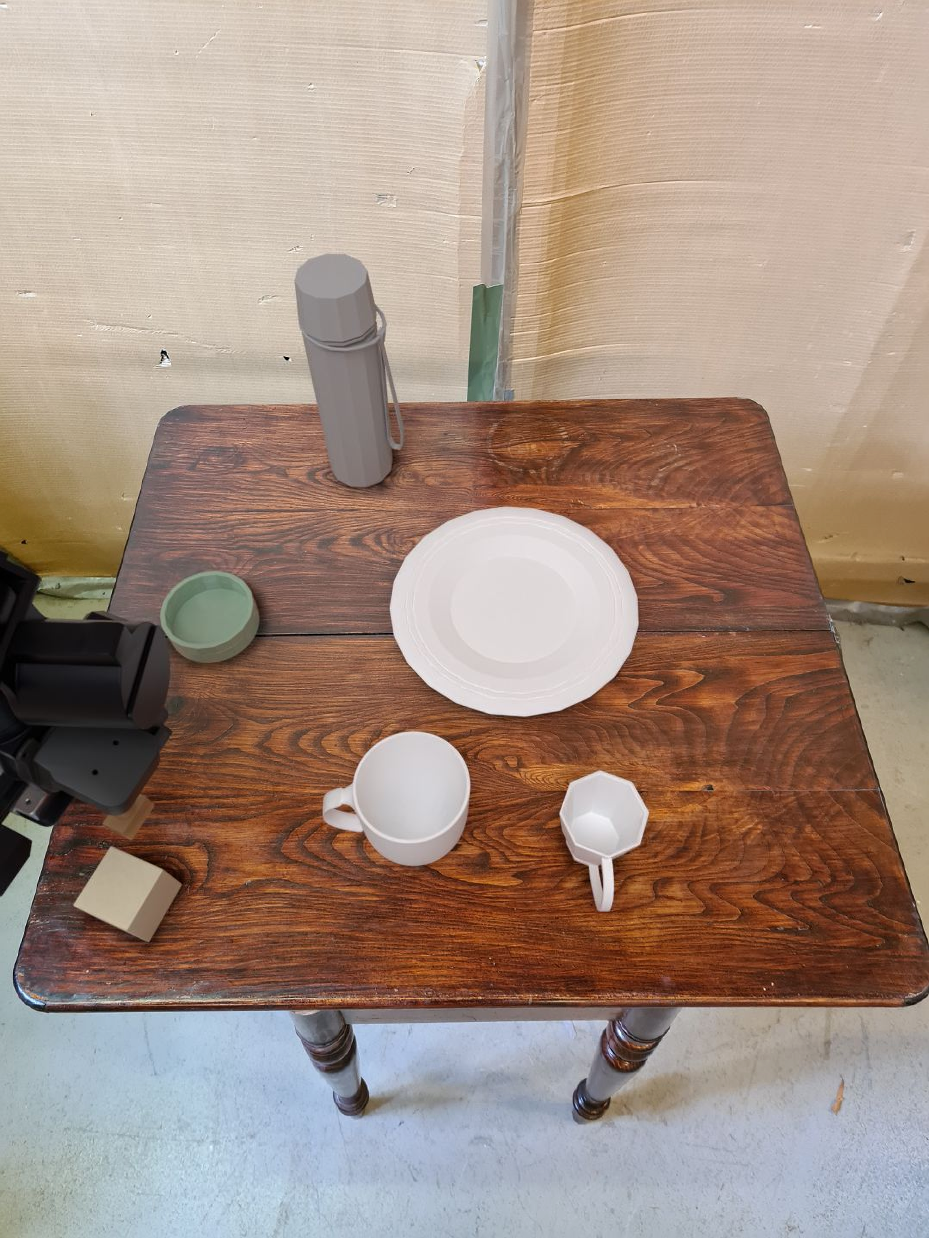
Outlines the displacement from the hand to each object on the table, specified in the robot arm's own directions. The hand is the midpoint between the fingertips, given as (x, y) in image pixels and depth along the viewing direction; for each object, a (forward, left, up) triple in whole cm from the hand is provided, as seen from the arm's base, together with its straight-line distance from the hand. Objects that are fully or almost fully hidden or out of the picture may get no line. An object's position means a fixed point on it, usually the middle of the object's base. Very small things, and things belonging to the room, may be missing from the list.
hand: (98, 787), depth 58 cm
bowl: (-7, +21, -13) cm, 25 cm away
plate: (+21, +34, -13) cm, 42 cm away
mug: (+20, +9, -13) cm, 25 cm away
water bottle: (-1, +46, -13) cm, 47 cm away
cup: (+36, +13, -13) cm, 40 cm away
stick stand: (+2, -5, -13) cm, 14 cm away
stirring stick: (0, 0, -7) cm, 7 cm away
